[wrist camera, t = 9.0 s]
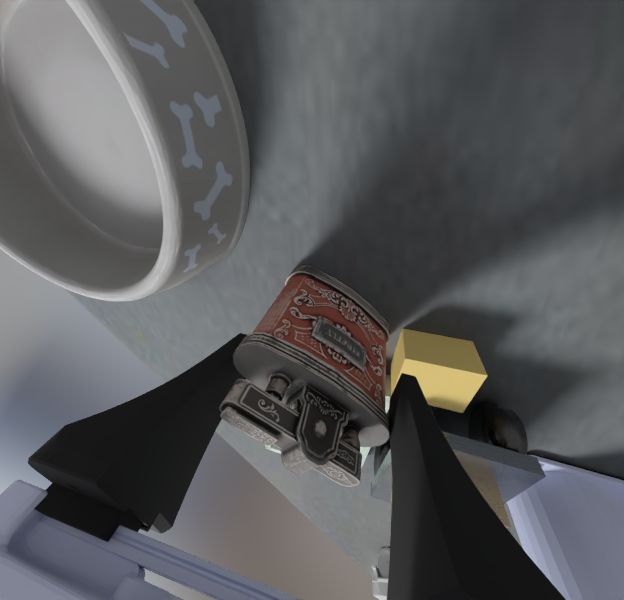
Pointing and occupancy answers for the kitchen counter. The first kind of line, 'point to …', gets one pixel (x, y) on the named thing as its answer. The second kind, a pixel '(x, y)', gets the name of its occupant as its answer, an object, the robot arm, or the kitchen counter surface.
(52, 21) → the dog bowl
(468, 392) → the block
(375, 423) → the lighter
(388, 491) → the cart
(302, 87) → the kitchen counter surface
